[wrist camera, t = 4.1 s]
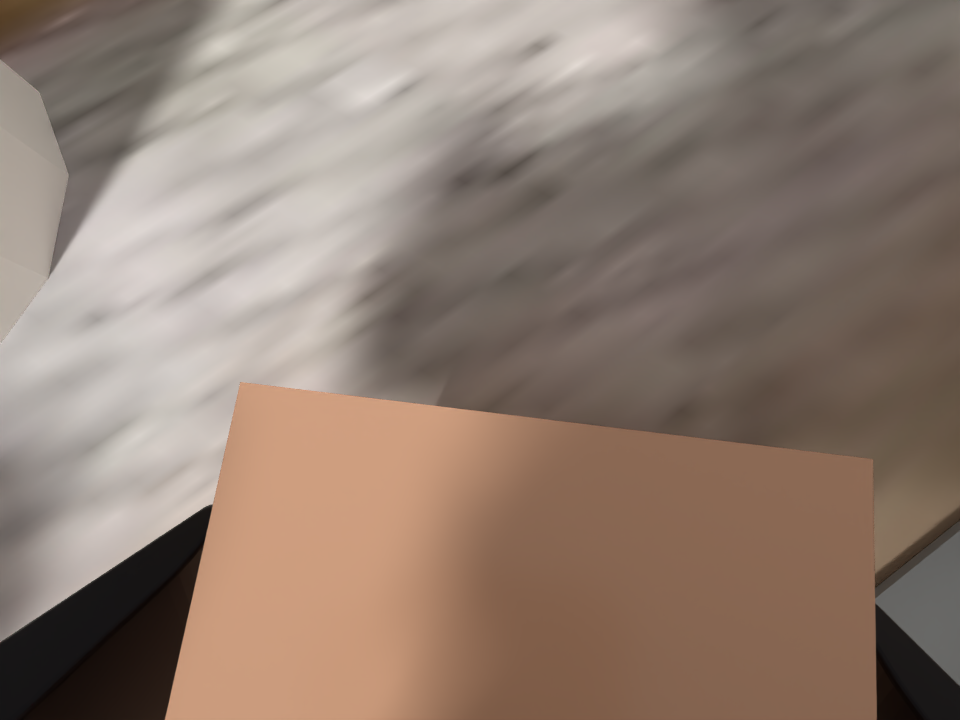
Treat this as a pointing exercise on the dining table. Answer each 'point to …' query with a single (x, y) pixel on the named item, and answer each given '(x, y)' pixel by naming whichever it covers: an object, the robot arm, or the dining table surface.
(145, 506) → the dining table surface
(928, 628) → the charcoal mat
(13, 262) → the container
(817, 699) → the peach tall cube
